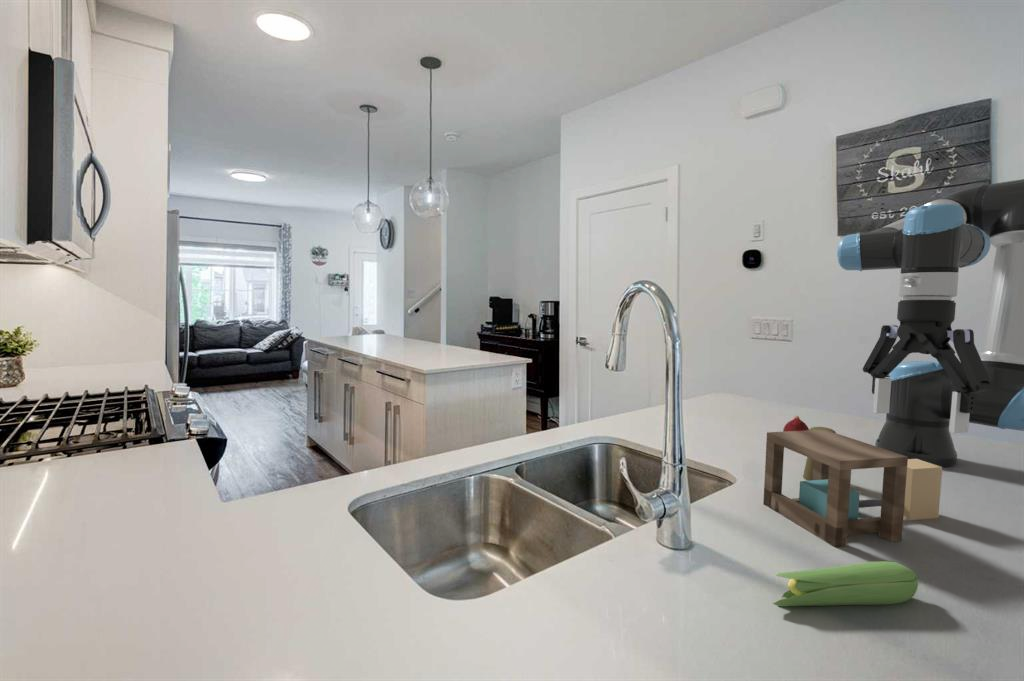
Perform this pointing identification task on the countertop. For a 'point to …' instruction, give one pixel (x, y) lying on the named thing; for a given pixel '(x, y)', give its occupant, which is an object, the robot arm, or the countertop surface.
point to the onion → (795, 425)
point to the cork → (809, 462)
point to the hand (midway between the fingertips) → (916, 422)
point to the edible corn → (850, 585)
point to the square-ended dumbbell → (918, 499)
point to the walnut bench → (836, 484)
